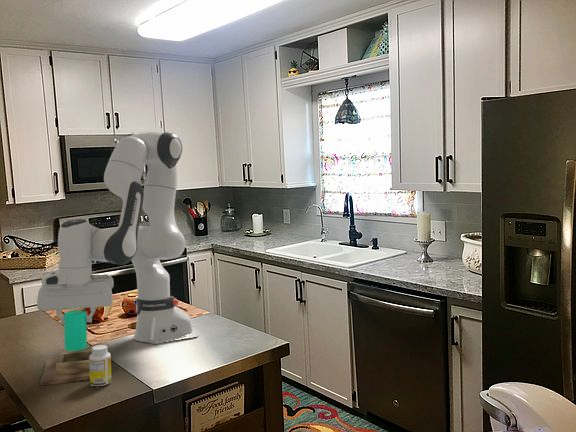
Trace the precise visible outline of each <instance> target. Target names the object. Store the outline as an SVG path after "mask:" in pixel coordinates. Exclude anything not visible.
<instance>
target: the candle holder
mask: <svg viewBox="0 0 576 432" xmlns="http://www.w3.org/2000/svg"><path fill="white" fill-rule="evenodd" d="M91 354H92V349H86V350H85V349H83V350H78V351H66V352H65V351H64V352H59V353H58V355H57V358H49V359H46V362H45V363H46V364H45V366H44V369H43V372H42V374H41V379H40V383H39V384H40V387H41V386H49V385H57V384H67V383H74V382H73V381H76V382H80V381H79V380H84V381H86V380H85V379H90V371H89V356H90V355H91Z"/></svg>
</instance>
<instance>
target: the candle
mask: <svg viewBox="0 0 576 432" xmlns="http://www.w3.org/2000/svg"><path fill="white" fill-rule="evenodd" d="M86 316H87V311H86V310H79V309H71V310H69V311H66V312H65V313H63V318H64V319H65V325H63V328H64V329H63V330H64V331H63V332H64V351H66V352H74V351H83V350H85V349H86V348H88V330H87V329H88V328H87V324H88V323H86Z"/></svg>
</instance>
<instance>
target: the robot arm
mask: <svg viewBox="0 0 576 432" xmlns="http://www.w3.org/2000/svg"><path fill="white" fill-rule="evenodd" d="M182 152H183V145H182V141H181V139H180V137H179V136H178V135H176V134H174V133H171V132H159V131H147V132H132V133H128V134H126V135H125V136H123V137H122V138H120V139H119V141H118V143H117V144H116V146H115V147H114V149H113V151H112V153H111V155H110V157H109V159H108V162H107V164H106V167H105V171H104V173H103V182H104V184H105V186H106V188H107V189H108V190H109V191H110V192H111V193H113V194H115V195H116V196H117V197H119V198H120V199H121V200H122V208H121V212H120V217H119V222H118V226H117V227H116V228H115V229H103V228H99V227H96V226H94V225H92V224H91V223H89V221H88V220H87V219H83V218H76V219H70V220H67V221H64V222H63V223H61V225H60V227H59V229H58V233H57V235H58V236H57V237H58V238H57V251H58V255H59V262H58V270H56V271H52V272H50V273H47V274H45V275H43V276H42V278H41V286H40V288H39V290H38V294H37V298H36V308H37V310H38V311H40V312H46V311H55V314H56V316H57V317H58V318H59V320H60V326H64V325H65V319H64V315H62V313H63V311H64V310H78V309H87V308H90V313H89V314H88V315H86V323H87V324H90V323H93V322H92V321H93V316H94V314H95V312H96V308H102V307H110V306H112V305H113V303H114V302H113V292H112V289H113V288H114V284H115V283H114V278H113V277H112V276H111V275H108V274H93V273H92V270H93V269H92V266H93V265H92V261H96V262H102V263H103V262H104V263H110V264H114V265H118V266H122V265H123V266H124V265H126V264H128V263H130V262H132V265H133V268H134V271H135V274H136V275H135V276H136V289H137V297H136V299H135V300H136V301H135V308H136V309H135V311H136V312H135V313H136V314H137V317H136V325H135V330H134V334H133V340H135V341H138V342H141V343H148V344H149V343H150V344H153V345H159V344H158V343H161V344H164V343H163V342H167V341H171V340H175V339H179V338H183V337H186V336H185V335H187V334H191V333H192V332H193V326H194V325H193V322H192V318H191V317H190V315H189V314H188V313H187V312H185V311H184V310H182V309H181V308H179V307H178V306H177V305H178V304H179V300H178V298H176V297H174V296H173V295H171V289H170V288H171V285H170V281H171V280H170V279H171V277H170V274H169V272H168V271H167V270H166V269H165V268H164V266H163V264H162V262H161V261H160V260H173V259H177V258H180V256H181V255H183V253H184V251H185V248H186V239H185V236H184V234H183V233H182V232H181V231H180V229H179V227H178V225H177V223H176V218H175V206H176V205H175V203H176V195H177V188H178V187H177V186H178V169H177V163H178V162H179V161H180V158H181V156H182V155H183V154H182ZM146 165H147V172H146V175H145V180H144V187H143V186H142V184H141V183H142V181H141V180H142V176H143V173H144V171H145V166H146ZM142 212H144V213H145V214H146V215H147V217H148V221H149V226H145V225H144V226H143V225H140V222H141V216H142ZM182 336H183V337H182ZM167 343H168V342H167Z"/></svg>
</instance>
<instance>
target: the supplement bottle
mask: <svg viewBox="0 0 576 432" xmlns="http://www.w3.org/2000/svg"><path fill="white" fill-rule="evenodd" d="M91 350H92V354H91V355H90V356H89V371H90V380H89V384H90V386H91V387H93V386H103V385H106V384H108V383H110V382H111V383H112V357H111V352H109V351H108V345H107V344H106V345H105V344H99V345H94V346H93V347H91ZM111 383H110V384H111Z"/></svg>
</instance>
